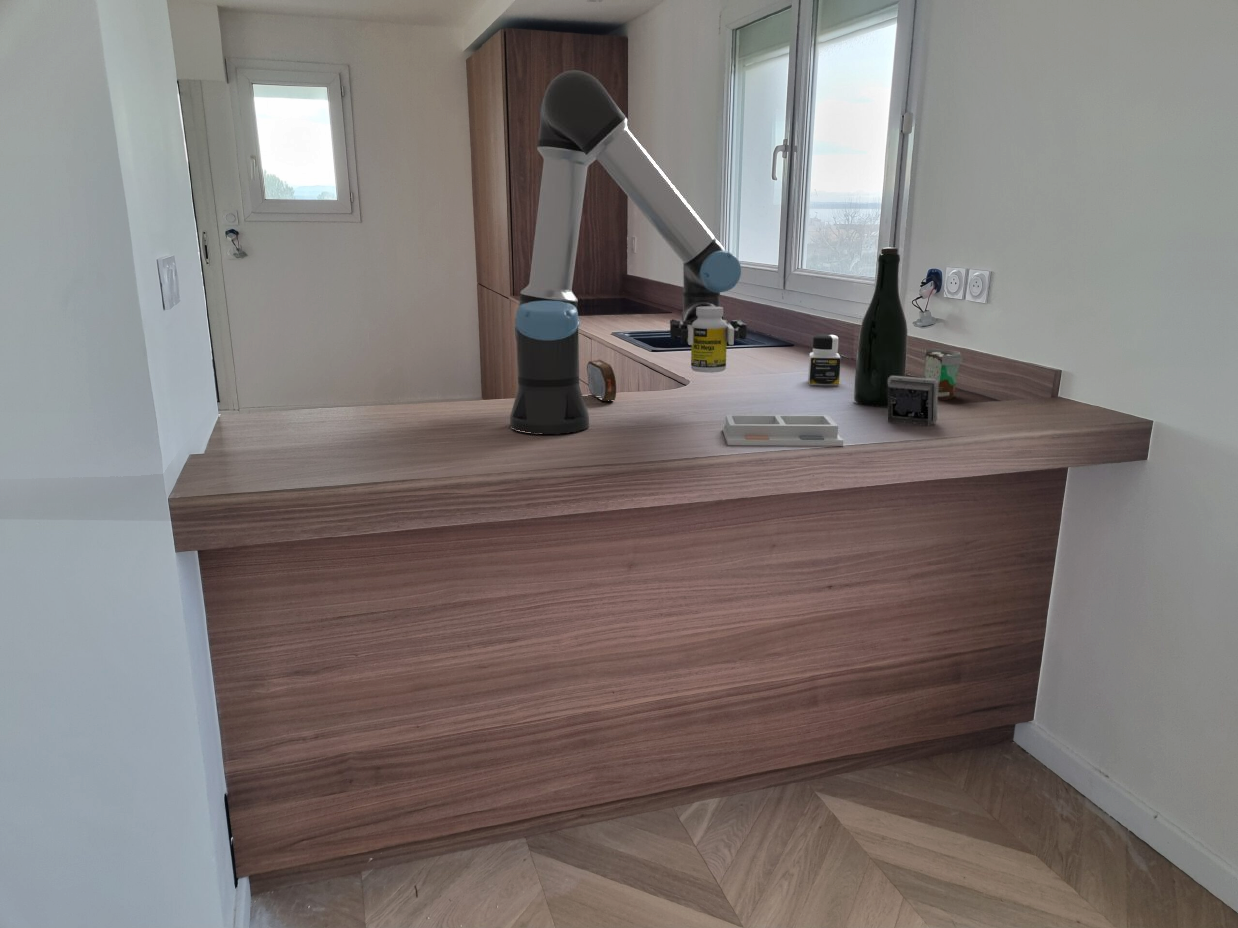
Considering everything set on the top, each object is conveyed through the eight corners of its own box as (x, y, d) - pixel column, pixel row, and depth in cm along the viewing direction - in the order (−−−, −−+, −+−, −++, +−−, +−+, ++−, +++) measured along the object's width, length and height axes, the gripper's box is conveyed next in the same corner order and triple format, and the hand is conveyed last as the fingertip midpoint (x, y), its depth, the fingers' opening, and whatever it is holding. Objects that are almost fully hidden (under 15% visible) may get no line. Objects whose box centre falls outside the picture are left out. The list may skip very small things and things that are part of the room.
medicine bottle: (809, 385, 209) (811, 336, 206) (807, 380, 216) (810, 333, 213) (839, 386, 208) (842, 336, 205) (836, 381, 215) (839, 333, 212)
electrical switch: (937, 423, 166) (940, 377, 163) (930, 431, 162) (933, 383, 159) (888, 418, 171) (891, 373, 168) (881, 425, 167) (883, 379, 164)
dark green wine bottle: (878, 409, 180) (890, 248, 171) (843, 401, 189) (853, 247, 180) (913, 404, 185) (927, 247, 176) (877, 397, 193) (889, 247, 185)
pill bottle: (688, 372, 149) (689, 308, 146) (693, 367, 155) (694, 305, 152) (724, 373, 148) (725, 308, 145) (727, 368, 153) (729, 306, 150)
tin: (617, 404, 187) (617, 366, 184) (603, 405, 186) (603, 366, 183) (598, 393, 200) (597, 357, 198) (585, 393, 199) (584, 357, 197)
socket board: (727, 445, 149) (728, 428, 149) (722, 430, 161) (723, 414, 160) (842, 445, 149) (844, 429, 148) (829, 430, 160) (830, 415, 159)
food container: (967, 401, 189) (972, 355, 186) (939, 401, 189) (943, 356, 186) (947, 391, 200) (951, 348, 198) (921, 391, 201) (924, 348, 198)
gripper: (752, 342, 167) (767, 358, 145) (654, 342, 168) (654, 359, 146) (753, 303, 165) (768, 314, 143) (654, 304, 166) (654, 314, 144)
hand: (711, 336), depth 144 cm, fingers closed on pill bottle, 6 cm apart
